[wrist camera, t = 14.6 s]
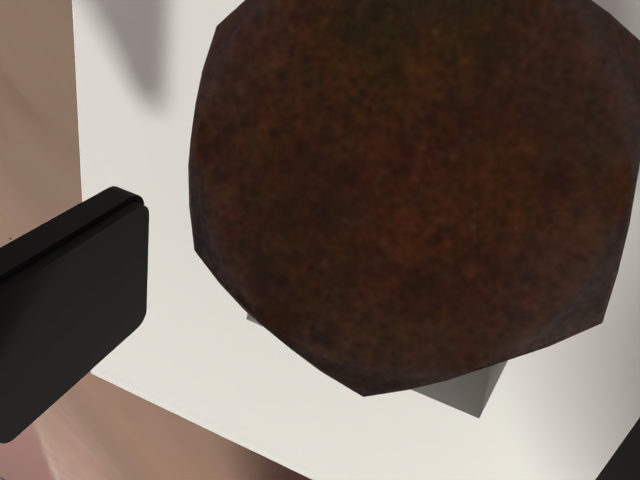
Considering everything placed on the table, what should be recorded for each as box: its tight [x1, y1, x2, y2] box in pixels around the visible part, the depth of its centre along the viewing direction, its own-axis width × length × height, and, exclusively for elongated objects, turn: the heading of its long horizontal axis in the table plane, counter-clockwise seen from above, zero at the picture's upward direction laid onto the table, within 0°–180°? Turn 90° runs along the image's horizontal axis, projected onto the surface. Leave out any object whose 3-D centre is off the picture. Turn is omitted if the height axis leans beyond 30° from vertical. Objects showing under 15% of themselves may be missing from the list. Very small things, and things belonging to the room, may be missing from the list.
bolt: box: [188, 0, 640, 397], centre depth 14 cm, size 6×5×15 cm
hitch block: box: [72, 0, 640, 480], centre depth 17 cm, size 17×18×9 cm
